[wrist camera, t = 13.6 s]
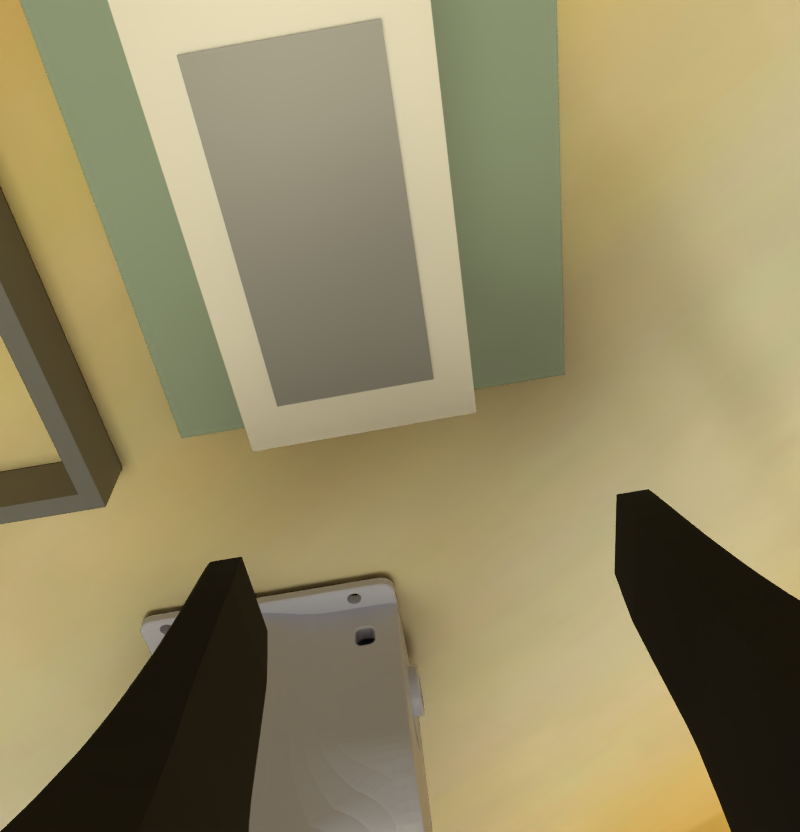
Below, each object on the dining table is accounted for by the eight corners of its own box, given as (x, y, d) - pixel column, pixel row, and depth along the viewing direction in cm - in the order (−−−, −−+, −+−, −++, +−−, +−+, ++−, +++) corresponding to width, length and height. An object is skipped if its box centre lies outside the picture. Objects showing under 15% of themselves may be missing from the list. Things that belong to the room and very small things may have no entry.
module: (387, -52, 16) (423, -74, 10) (432, 284, 20) (477, 416, 14) (188, -17, 16) (98, -16, 10) (275, 312, 20) (251, 456, 14)
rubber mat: (542, -278, 14) (550, -289, 14) (559, 365, 22) (564, 374, 22) (-37, -181, 14) (-49, -186, 14) (184, 428, 22) (181, 438, 22)
